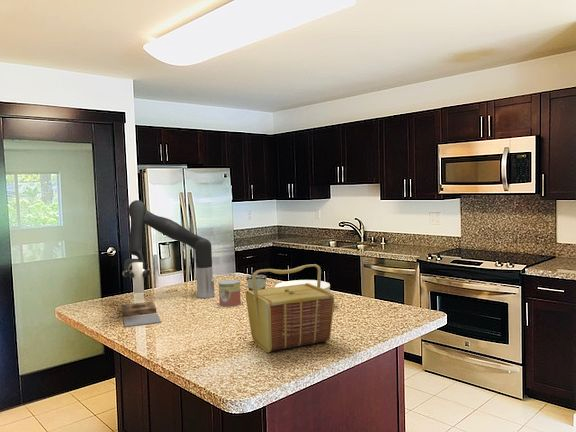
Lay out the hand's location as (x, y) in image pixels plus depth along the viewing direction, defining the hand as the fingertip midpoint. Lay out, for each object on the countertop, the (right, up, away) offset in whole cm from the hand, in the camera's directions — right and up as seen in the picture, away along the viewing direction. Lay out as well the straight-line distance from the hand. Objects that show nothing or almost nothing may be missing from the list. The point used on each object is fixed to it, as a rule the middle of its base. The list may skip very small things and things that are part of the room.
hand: (138, 275), depth 224 cm
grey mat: (+1, -22, +1) cm, 22 cm away
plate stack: (+78, -19, +17) cm, 82 cm away
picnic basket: (+72, -22, -37) cm, 84 cm away
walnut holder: (-6, -21, +20) cm, 30 cm away
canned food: (+40, -19, +29) cm, 53 cm away
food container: (+53, -17, +55) cm, 78 cm away
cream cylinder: (-1, -8, +3) cm, 9 cm away
